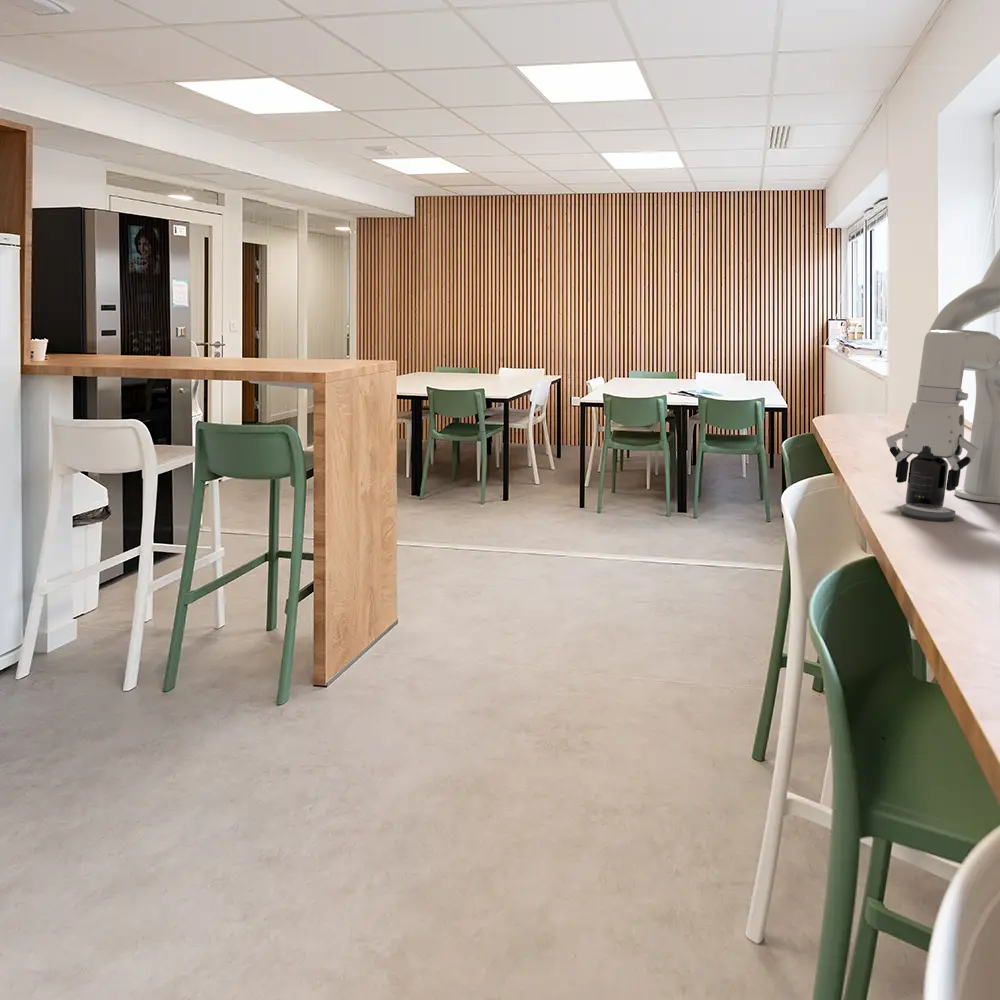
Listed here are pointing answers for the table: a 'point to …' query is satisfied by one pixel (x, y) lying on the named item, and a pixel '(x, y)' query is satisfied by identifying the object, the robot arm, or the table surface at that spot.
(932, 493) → the supplement bottle
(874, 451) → the table surface
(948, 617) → the table surface
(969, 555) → the table surface
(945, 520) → the plate
